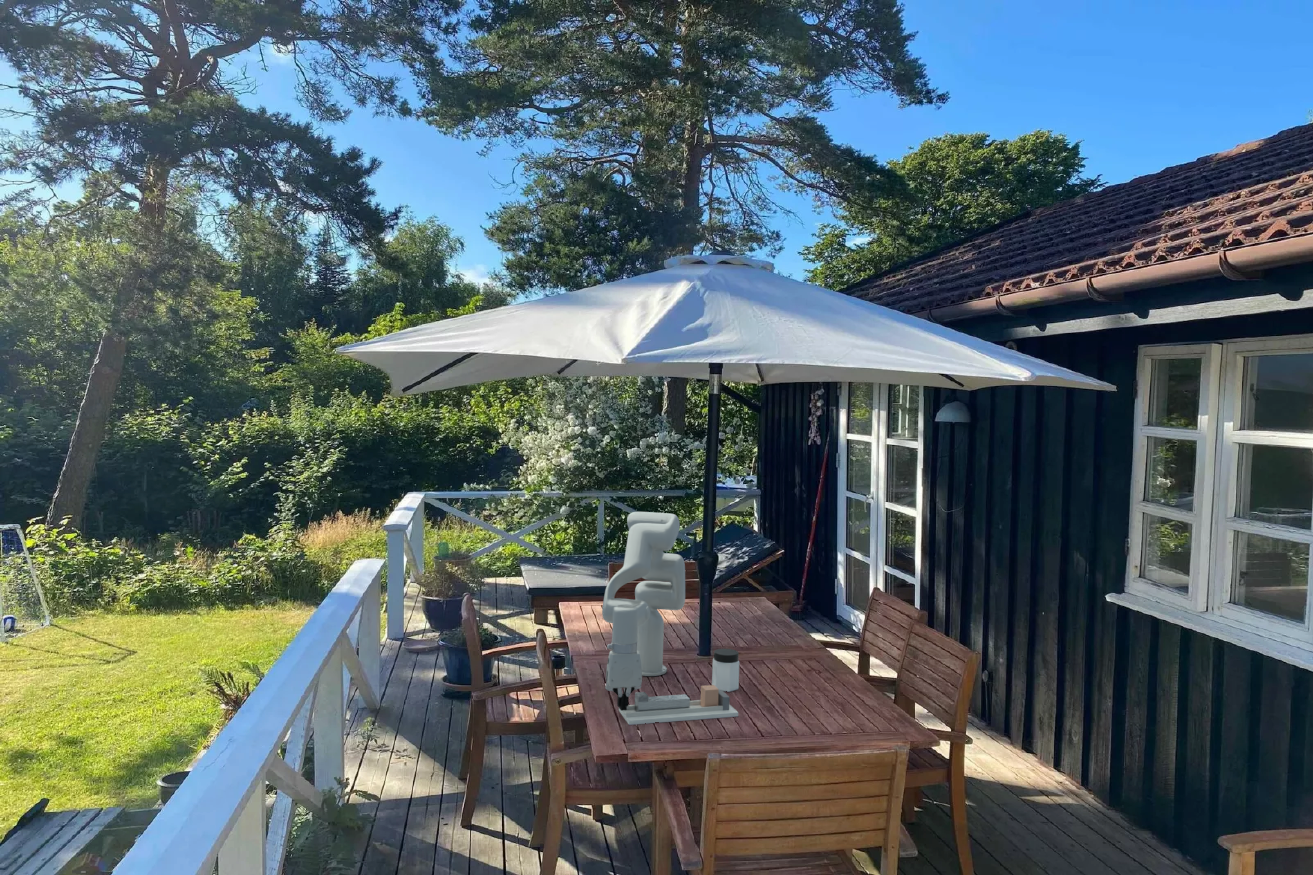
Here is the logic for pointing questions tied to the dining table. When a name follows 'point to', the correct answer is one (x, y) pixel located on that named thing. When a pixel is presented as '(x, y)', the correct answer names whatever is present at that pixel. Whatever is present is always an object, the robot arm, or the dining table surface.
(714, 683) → the jar
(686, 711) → the grey slide rail track
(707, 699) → the block
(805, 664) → the dining table surface
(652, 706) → the grey sliding carriage block
